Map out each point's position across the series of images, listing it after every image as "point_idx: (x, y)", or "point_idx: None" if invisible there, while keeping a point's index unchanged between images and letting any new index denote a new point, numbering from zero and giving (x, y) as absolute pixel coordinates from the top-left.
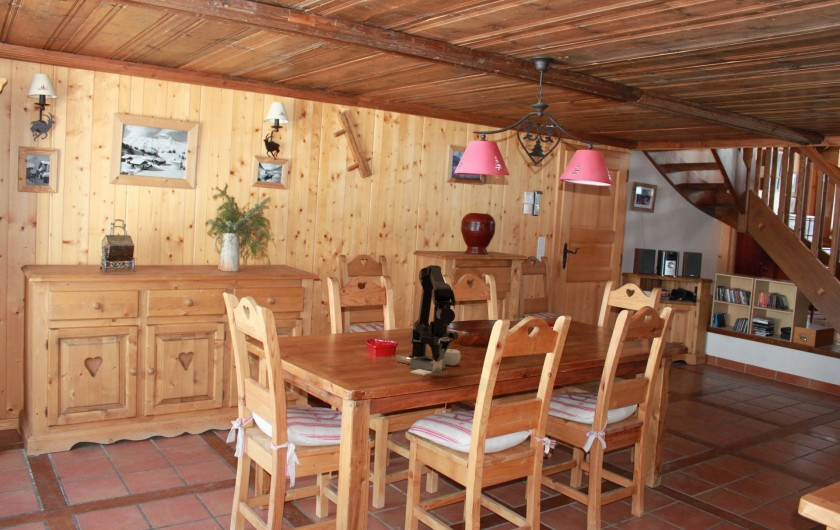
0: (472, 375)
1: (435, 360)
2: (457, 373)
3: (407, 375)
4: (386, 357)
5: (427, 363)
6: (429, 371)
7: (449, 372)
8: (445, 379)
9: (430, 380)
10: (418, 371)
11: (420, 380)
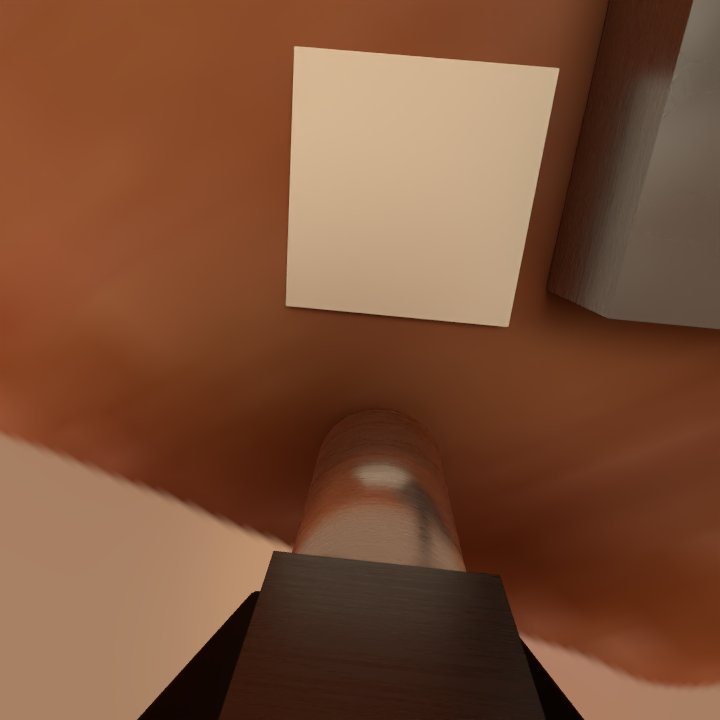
0: (702, 681)
1: None
2: (705, 548)
3: (127, 111)
4: None
5: (628, 211)
6: (500, 289)
7: (703, 464)
8: None
9: (159, 463)
10: (380, 158)
11: (61, 382)
